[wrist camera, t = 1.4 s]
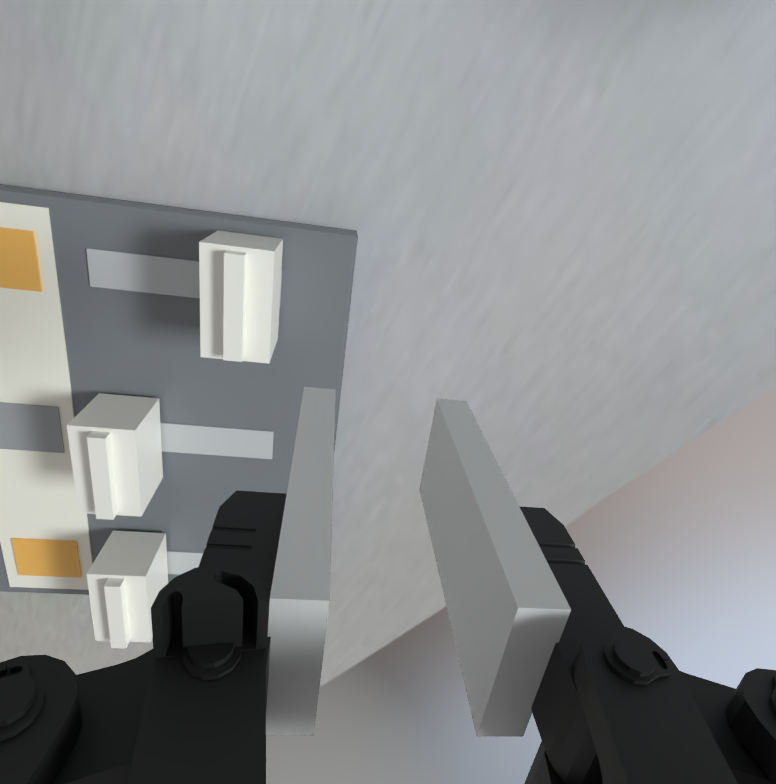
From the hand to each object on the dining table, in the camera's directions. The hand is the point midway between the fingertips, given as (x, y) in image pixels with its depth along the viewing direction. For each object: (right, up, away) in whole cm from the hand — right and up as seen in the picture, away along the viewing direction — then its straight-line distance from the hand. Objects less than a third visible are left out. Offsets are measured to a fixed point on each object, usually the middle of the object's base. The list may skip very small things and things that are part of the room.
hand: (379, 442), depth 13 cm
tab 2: (-14, -1, +15) cm, 20 cm away
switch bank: (-14, 0, +17) cm, 22 cm away
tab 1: (-7, +6, +12) cm, 15 cm away
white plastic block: (-15, -9, +19) cm, 26 cm away
